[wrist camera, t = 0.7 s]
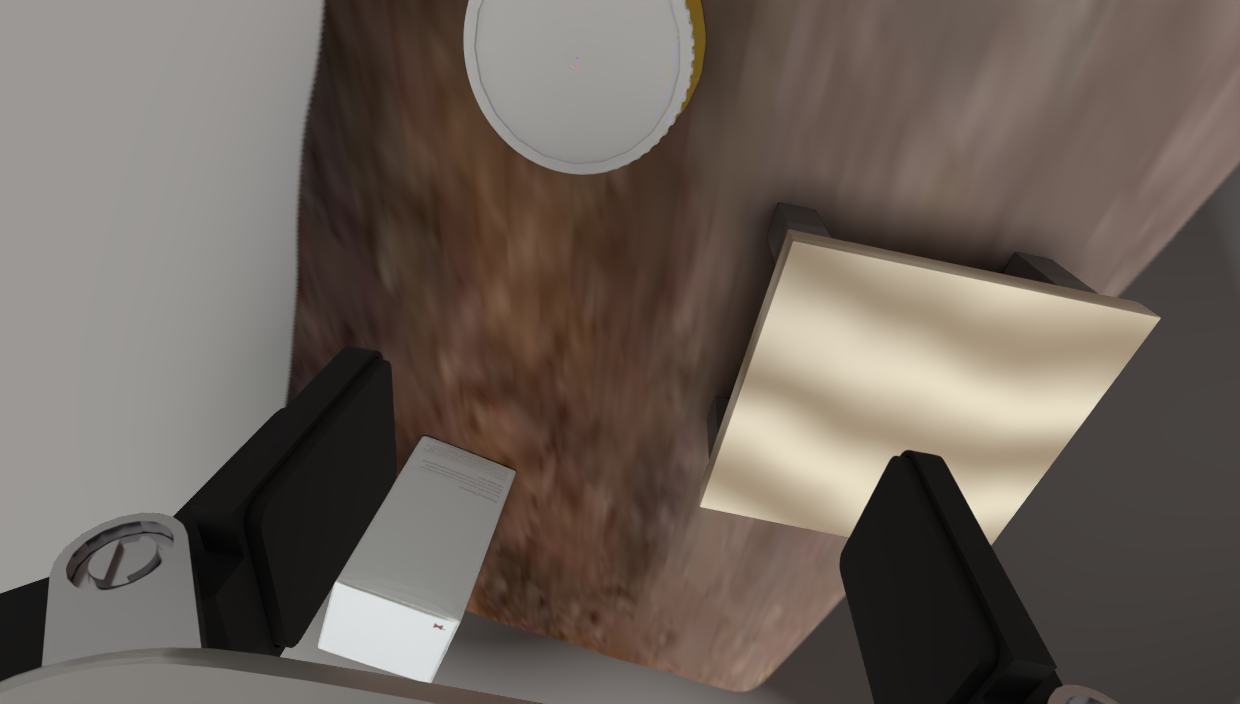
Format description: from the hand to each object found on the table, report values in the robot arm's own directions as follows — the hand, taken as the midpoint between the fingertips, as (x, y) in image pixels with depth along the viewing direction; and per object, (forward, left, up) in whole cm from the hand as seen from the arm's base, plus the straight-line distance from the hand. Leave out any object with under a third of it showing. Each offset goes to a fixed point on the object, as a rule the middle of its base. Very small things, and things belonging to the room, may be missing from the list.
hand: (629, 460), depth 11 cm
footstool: (+8, +14, -24) cm, 29 cm away
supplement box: (+26, -10, -24) cm, 37 cm away
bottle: (-6, -3, -24) cm, 25 cm away
